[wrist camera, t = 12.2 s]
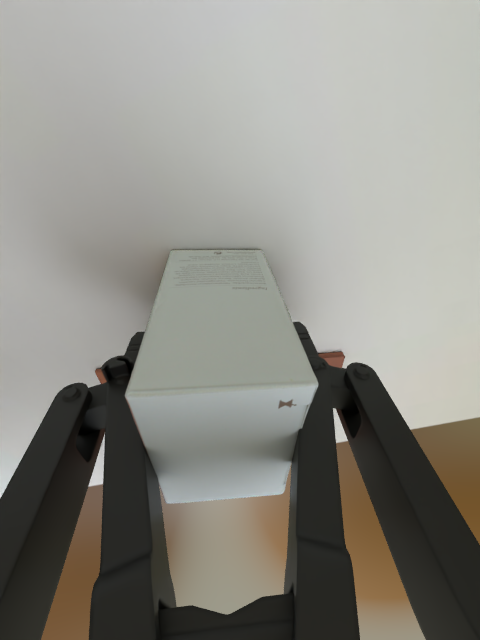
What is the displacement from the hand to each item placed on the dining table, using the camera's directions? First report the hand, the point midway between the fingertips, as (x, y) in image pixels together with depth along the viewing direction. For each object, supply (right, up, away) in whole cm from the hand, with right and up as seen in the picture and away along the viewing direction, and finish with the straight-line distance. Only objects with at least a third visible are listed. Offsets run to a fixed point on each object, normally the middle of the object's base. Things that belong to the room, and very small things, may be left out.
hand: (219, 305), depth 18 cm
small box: (0, 0, 0) cm, 0 cm away
